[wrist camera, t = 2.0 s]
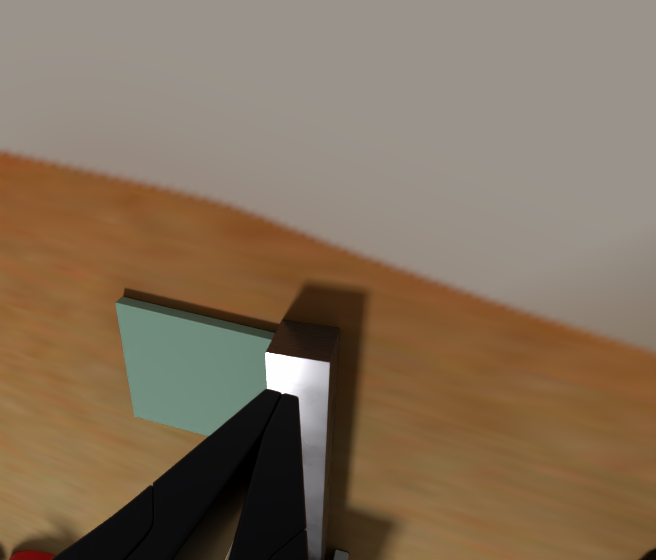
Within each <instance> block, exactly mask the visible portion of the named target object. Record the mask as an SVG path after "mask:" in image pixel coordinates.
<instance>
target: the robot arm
mask: <svg viewBox="0 0 656 560" xmlns="http://www.w3.org/2000/svg"><path fill="white" fill-rule="evenodd" d="M306 529H307V523H306V507H305V490H304V474H303V457H302V440H301V424H300V407H299V398H298V396H295V395H291V394H287V393H283V394H282V393H281V392H279V391H276V390H272V389H265V390H263V391H262V392H261V393H260V394H259V395H257V396H256V397H255V398H254V399H253V400H251V401H250V402H249V403H248V404H247V405H245V406H244V407H243V408H242V409H241V410H239V411H238V412H237V413H236V414H235V415H233V416H232V417H231V418H230V419H229V420H227V421H226V422H225V423H224V424H223V425H222V426H220V427H219V428H218V429H217V430H216V431H214V432H213V433H212V434H211V435H210V436H208V437H207V438H206V439H205V440H204V441H202V442H201V443H200V444H199V445H198V446H196V447H195V448H194V449H193V450H192V451H190V452H189V453H188V454H187V455H186V456H185V457H183V458H182V459H181V460H180V461H179V462H177V463H176V464H175V465H174V466H173V467H171V468H170V469H169V470H168V471H167V472H165V473H164V474H163V475H162V476H161V477H159V478H158V479H157V480H156V481H155V482H154V483H153V486H152V485H150V486H148V487H147V488H146V489H145V490H144V491H142V492H141V493H140V494H139V495H138V496H137V497H135V498H134V499H133V500H132V501H130V502H129V503H128V504H127V505H125V506H124V507H123V508H122V509H120V510H119V511H118V512H117V513H115V514H114V515H113V516H111V517H110V518H109V519H107V520H106V521H105V522H103V523H102V524H100V525H99V526H98V527H96V528H95V529H93V530H92V531H91V532H89V533H88V534H87V535H85V536H84V537H82V538H81V539H79V540H78V541H77V542H75V543H74V544H72V545H71V546H69V547H68V548H66V549H65V550H64V551H62V552H61V553H59V554H58V555H56V556H55V557H53V558H52V559H51V560H225V558H226V556H227V553H228V551H229V549H230V547H231V544H232V542H233V544H232V548H231V552H230V555H229V559H228V560H309V553H308V537H307V531H306ZM233 540H234V541H233ZM648 560H656V552H655V553H654V554H653V555H652V556H651V557H650V558H649V559H648Z"/></svg>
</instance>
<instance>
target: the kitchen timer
mask: <svg viewBox="0 0 656 560" xmlns="http://www.w3.org/2000/svg"><path fill="white" fill-rule="evenodd" d="M53 557H55V556H54V555H51V554H47V553H44V552H36V551H21V552H17V553H16V554H14V555H13V556H11V558H10V559H9V560H51V559H52V558H53Z"/></svg>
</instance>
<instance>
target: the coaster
mask: <svg viewBox="0 0 656 560" xmlns="http://www.w3.org/2000/svg"><path fill="white" fill-rule="evenodd" d="M115 303H116V309H117V315H118V321H119V327H120V333H121V339H122V345H123V351H124V357H125V363H126V369H127V375H128V381H129V387H130V393H131V399H132V405H133V411H134V416H135V417H139V418H143V419H147V420H150V421H154V422H158V423H161V424H165V425H169V426H172V427H176V428H180V429H184V430H187V431H191V432H195V433H198V434H202V435H206V436H210V435H211V434H212V433H213V432H214V431H216V430H217V429H218V428H219V427H220V426H222V425H223V424H224V423H225V422H226V421H227V420H229V419H230V418H231V417H232V416H233V415H235V414H236V413H237V412H238V411H239V410H241V409H242V408H243V407H244V406H245V405H247V404H248V403H249V402H250V401H251V400H253V399H254V398H255V397H256V396H257V395H259V394H260V393H261V392H262V391H263V390H265V389H267V373H266V355H265V352H266V350H267V348H268V346H269V344H270V342H271V340H272V339H273V337H274V335H275V333H273V332H269V331H265V330H261V329H257V328H252V327H248V326H244V325H240V324H236V323H231V322H227V321H223V320H219V319H214V318H210V317H206V316H202V315H198V314H193V313H189V312H185V311H181V310H177V309H172V308H168V307H164V306H160V305H156V304H151V303H147V302H143V301H139V300H135V299H130V298H126V297H121V298H120V299H119V300H118V301H117V302H115Z"/></svg>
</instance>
